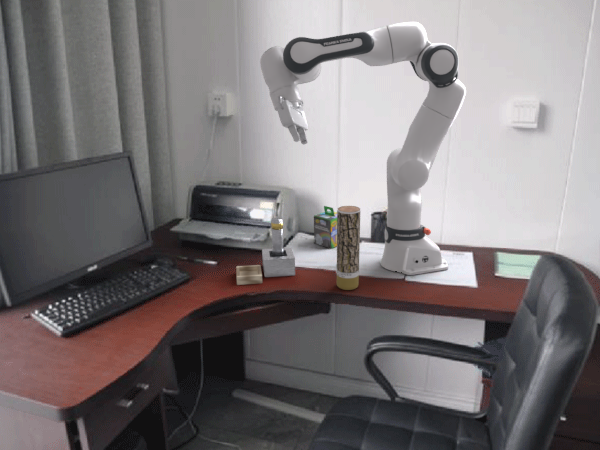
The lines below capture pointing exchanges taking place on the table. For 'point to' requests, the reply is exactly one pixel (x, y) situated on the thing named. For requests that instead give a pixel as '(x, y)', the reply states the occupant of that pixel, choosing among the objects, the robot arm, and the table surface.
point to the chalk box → (326, 228)
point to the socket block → (278, 263)
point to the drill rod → (277, 237)
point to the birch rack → (249, 274)
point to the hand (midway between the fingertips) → (301, 142)
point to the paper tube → (348, 247)
